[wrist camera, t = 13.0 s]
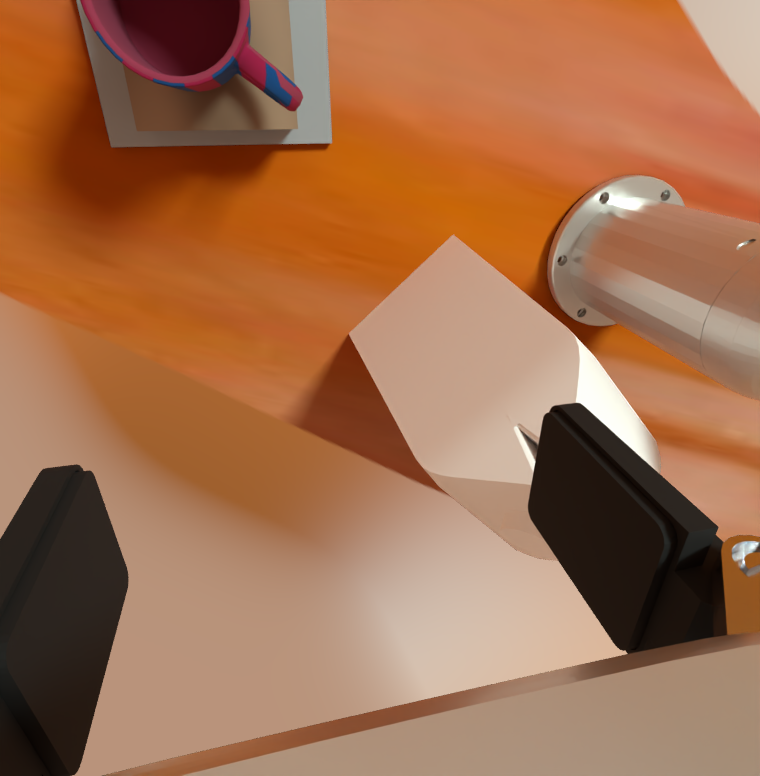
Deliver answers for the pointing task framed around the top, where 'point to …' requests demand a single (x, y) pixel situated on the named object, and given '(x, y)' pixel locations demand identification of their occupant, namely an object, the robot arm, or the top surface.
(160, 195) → the top surface
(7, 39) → the top surface
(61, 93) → the top surface
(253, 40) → the walnut slab
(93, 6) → the cup
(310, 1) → the board
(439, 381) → the milk
